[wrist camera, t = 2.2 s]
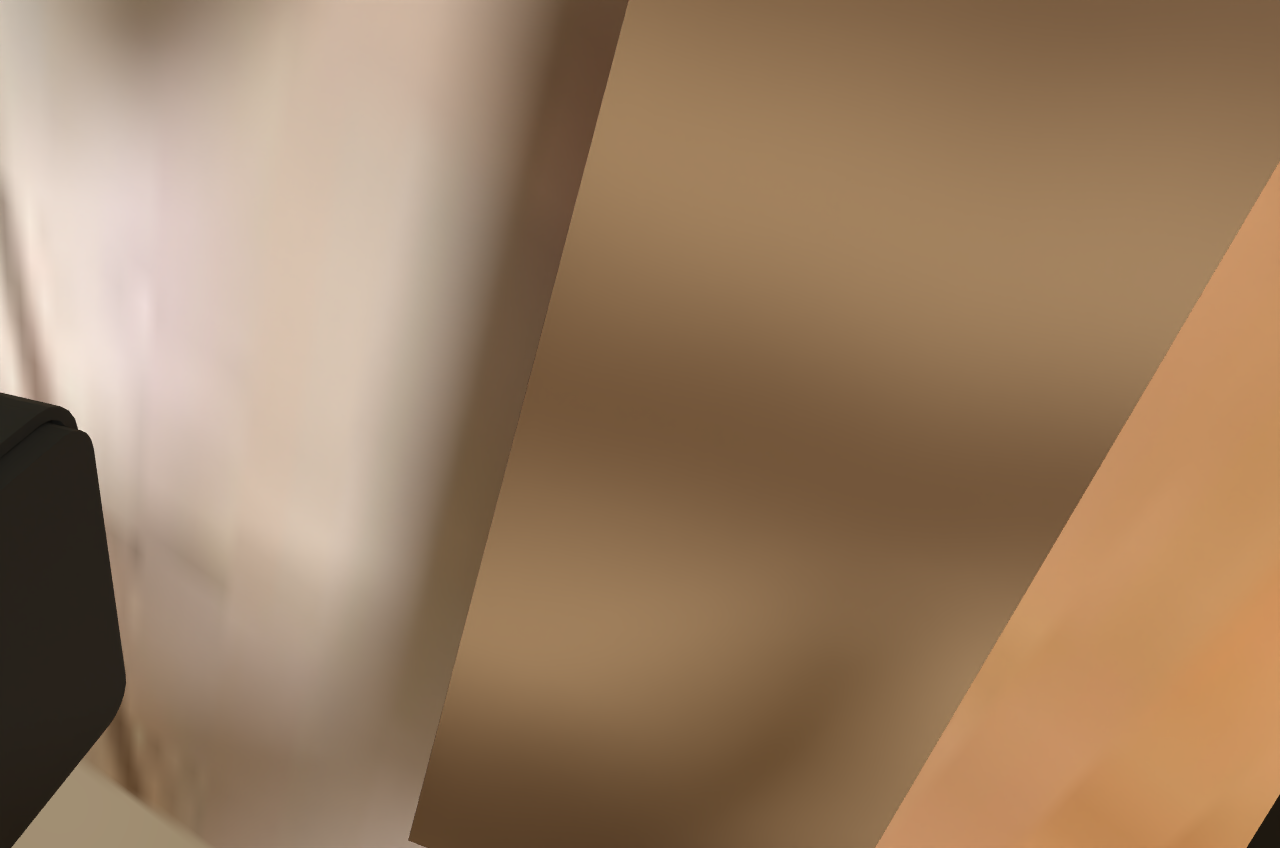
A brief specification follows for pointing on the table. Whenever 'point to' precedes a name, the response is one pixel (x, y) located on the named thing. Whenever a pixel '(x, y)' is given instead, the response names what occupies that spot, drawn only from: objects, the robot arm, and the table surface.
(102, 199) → the table surface
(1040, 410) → the brown wooden block
